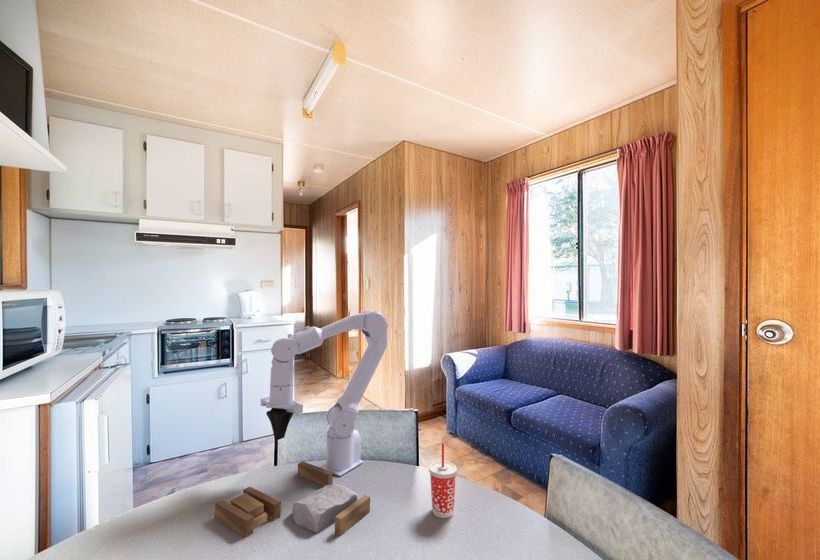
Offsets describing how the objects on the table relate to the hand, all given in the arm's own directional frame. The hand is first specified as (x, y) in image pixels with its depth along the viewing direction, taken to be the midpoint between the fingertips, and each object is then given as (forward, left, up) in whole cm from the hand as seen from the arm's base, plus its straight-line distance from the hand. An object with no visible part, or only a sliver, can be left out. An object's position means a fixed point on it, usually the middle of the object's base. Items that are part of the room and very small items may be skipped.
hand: (279, 438), depth 85 cm
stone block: (+4, +20, -10) cm, 23 cm away
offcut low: (+14, +9, -10) cm, 20 cm away
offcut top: (+14, +9, -8) cm, 19 cm away
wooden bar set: (+6, +16, -10) cm, 20 cm away
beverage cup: (-10, +42, -10) cm, 44 cm away
